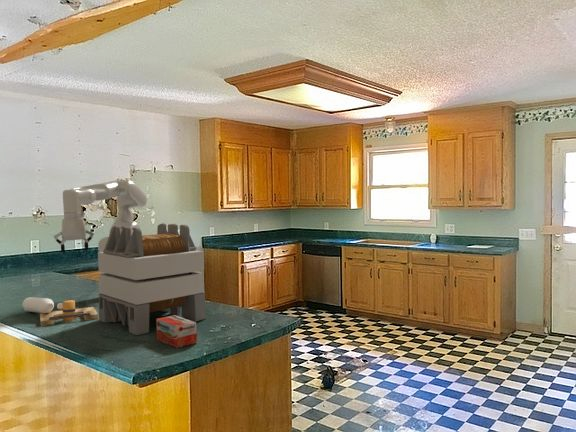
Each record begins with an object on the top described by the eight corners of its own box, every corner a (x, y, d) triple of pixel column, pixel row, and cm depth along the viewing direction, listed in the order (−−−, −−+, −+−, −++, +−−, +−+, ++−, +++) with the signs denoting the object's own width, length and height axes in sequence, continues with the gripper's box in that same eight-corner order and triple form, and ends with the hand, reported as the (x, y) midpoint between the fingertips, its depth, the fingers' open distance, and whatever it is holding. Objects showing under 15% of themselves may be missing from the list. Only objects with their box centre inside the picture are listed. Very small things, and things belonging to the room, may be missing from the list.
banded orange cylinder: (75, 317, 208) (74, 299, 208) (76, 320, 204) (75, 301, 204) (62, 319, 206) (61, 301, 206) (63, 322, 202) (62, 303, 201)
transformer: (207, 319, 203) (205, 224, 201) (136, 336, 180) (133, 228, 178) (165, 306, 227) (163, 221, 225) (97, 320, 204) (94, 225, 202)
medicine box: (197, 344, 170) (197, 321, 170) (177, 349, 164) (176, 326, 164) (175, 335, 181) (174, 314, 180) (155, 340, 175) (155, 318, 175)
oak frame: (93, 311, 220) (93, 304, 220) (98, 318, 206) (98, 311, 206) (39, 317, 210) (39, 310, 210) (40, 326, 196) (40, 318, 195)
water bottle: (21, 311, 219) (41, 314, 202) (23, 297, 220) (43, 298, 203) (41, 311, 225) (62, 313, 208) (42, 297, 226) (64, 298, 209)
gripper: (91, 214, 231) (93, 249, 233) (51, 216, 223) (54, 252, 224) (93, 215, 225) (95, 251, 226) (52, 217, 216) (55, 254, 218)
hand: (75, 252), depth 225 cm, fingers open, 9 cm apart
